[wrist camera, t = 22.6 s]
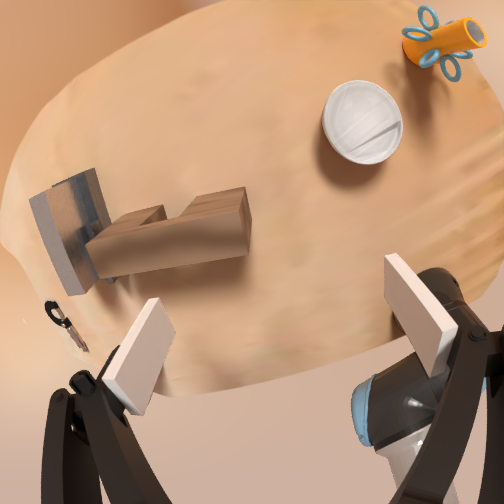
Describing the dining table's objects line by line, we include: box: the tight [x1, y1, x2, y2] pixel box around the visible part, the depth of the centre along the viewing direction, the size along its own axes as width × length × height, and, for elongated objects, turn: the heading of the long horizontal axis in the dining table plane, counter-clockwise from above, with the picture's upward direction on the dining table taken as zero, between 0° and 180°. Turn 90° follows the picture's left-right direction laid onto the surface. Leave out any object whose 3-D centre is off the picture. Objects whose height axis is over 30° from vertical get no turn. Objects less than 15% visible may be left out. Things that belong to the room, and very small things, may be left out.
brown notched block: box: [85, 187, 252, 279], centre depth 36 cm, size 5×20×12 cm, turn 101°
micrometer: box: [45, 301, 88, 352], centre depth 52 cm, size 15×7×3 cm, turn 17°
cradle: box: [52, 168, 119, 283], centre depth 39 cm, size 18×8×6 cm, turn 11°
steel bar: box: [29, 178, 99, 296], centre depth 35 cm, size 16×4×8 cm, turn 12°
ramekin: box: [322, 80, 403, 165], centre depth 32 cm, size 11×11×5 cm
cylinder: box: [402, 5, 487, 82], centre depth 21 cm, size 12×10×15 cm
